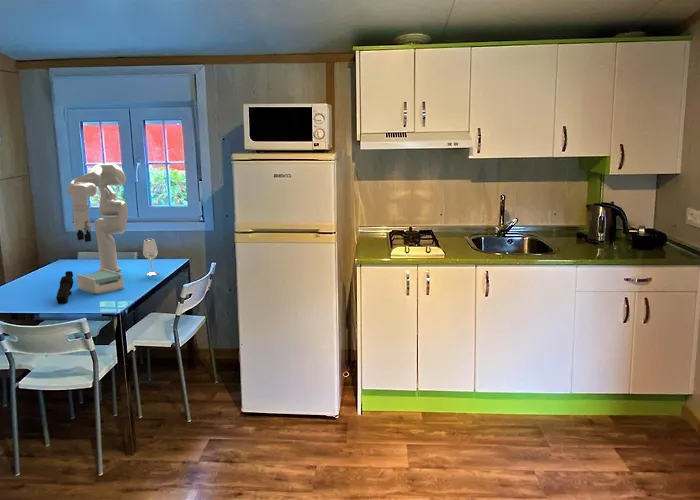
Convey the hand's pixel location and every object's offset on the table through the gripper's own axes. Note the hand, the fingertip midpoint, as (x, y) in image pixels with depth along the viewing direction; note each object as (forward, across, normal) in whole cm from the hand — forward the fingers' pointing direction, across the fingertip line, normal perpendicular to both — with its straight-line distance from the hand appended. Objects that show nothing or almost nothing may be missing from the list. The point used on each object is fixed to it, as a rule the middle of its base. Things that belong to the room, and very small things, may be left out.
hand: (84, 240), depth 320 cm
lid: (+19, +14, 0) cm, 24 cm away
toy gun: (+24, +17, -19) cm, 36 cm away
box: (+24, +14, 0) cm, 28 cm away
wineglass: (+24, +6, +34) cm, 42 cm away
